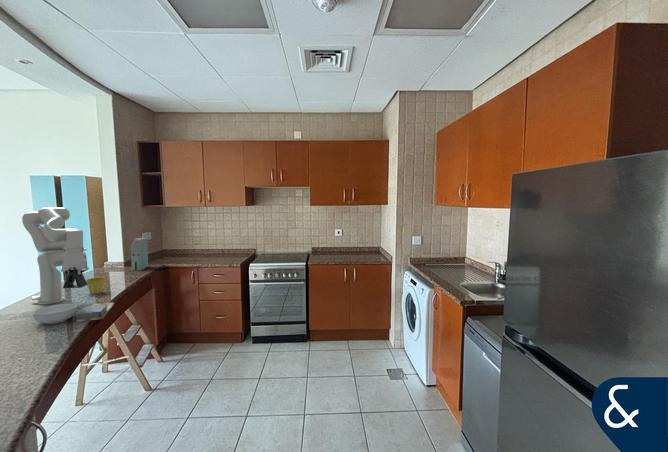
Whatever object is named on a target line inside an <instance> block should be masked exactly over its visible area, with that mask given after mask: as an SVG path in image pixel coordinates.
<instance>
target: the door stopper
mask: <svg viewBox="0 0 668 452" xmlns="http://www.w3.org/2000/svg"><path fill="white" fill-rule="evenodd" d="M70 269H71V268H69V274H67V277H66V279H65V281H64V284H63V287H62V289H80V288H83V287H86V286H88V285H87V282H86V280H87V279H86V278H85V276H84V274H83V273H82V274H81V277H80V276H79V275H78V270H76V268H74V267H73V269H74V270H70ZM71 276H73V278H74V281H73V282H70V278H71Z"/></svg>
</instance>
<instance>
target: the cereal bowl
mask: <svg viewBox="0 0 668 452" xmlns="http://www.w3.org/2000/svg"><path fill="white" fill-rule="evenodd" d="M78 308H79V306H78V304H77V303H59V304H54V305H48V306H44V307H40V308H38V309H36V310H34V311H33V312H32V317H33V319H34V321H36V322H37V323H42V324H46V325H54V324H55V325H56V324H61V323H63V322H66V321H67V320H69V319H71V318H73V317H74V316H75V315H77V312H78Z"/></svg>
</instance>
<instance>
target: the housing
mask: <svg viewBox="0 0 668 452" xmlns="http://www.w3.org/2000/svg"><path fill="white" fill-rule="evenodd" d="M106 310H107V305H97V306H91V305H89V306H84V307H83V308H82V309H80V311H78V313H76V321H77V320H79V319H87V318H96V317H101V316H102V315H103V314H104V313H105V312H106Z"/></svg>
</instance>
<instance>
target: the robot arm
mask: <svg viewBox="0 0 668 452" xmlns="http://www.w3.org/2000/svg"><path fill="white" fill-rule="evenodd" d="M70 216H71V212H70V211H69V209H68V208H66V207H58V206H56V207H54V206H52V207H51V206H47V207H46V206H45V207H42V208H40V209H39V210H38V211H29V212H25V213H24V214H23V215H22V217H21V220H22V225H23V227H24V229H25V230H26V231H27V232H28V234H29V235H30V237H31V240H32V242H33V244H34V245H33V246H34V247H35V249H36V251H37V252H39V253H41V254H39V255H38V256H37V259H36V260H37V266H38V268H39V281H40V282H39V283H40V286H39V287H40V294H39V295H38V296H36V295H35V296H31V300H32V301H37V302H36V304H37V305H41V306H42V305H51V304H57V303H61V302H64V301H65V300H66V297H65V296H63V294H62V292H63V291H62V289H63V287H62V273H65V274H66V275H68V274H69V268H71V269H70V270H74V269H73V267H74V268H76V270H78V275H79V276H80V277H81V274H83V273H84V272H86V271H88V270H90V268H89V267H88V260H87V254H86V251H87V248H85V247H84V232H83V230H82V229H77V228H63V226H65V224H66V222H67V221H68V220H69V218H71V217H70ZM42 225H43V226H42ZM58 267H62V268H61V269H60V270H59V269H58ZM73 281H74V278H73V276H71V278H70V282H73ZM74 282H75V281H74Z"/></svg>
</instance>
